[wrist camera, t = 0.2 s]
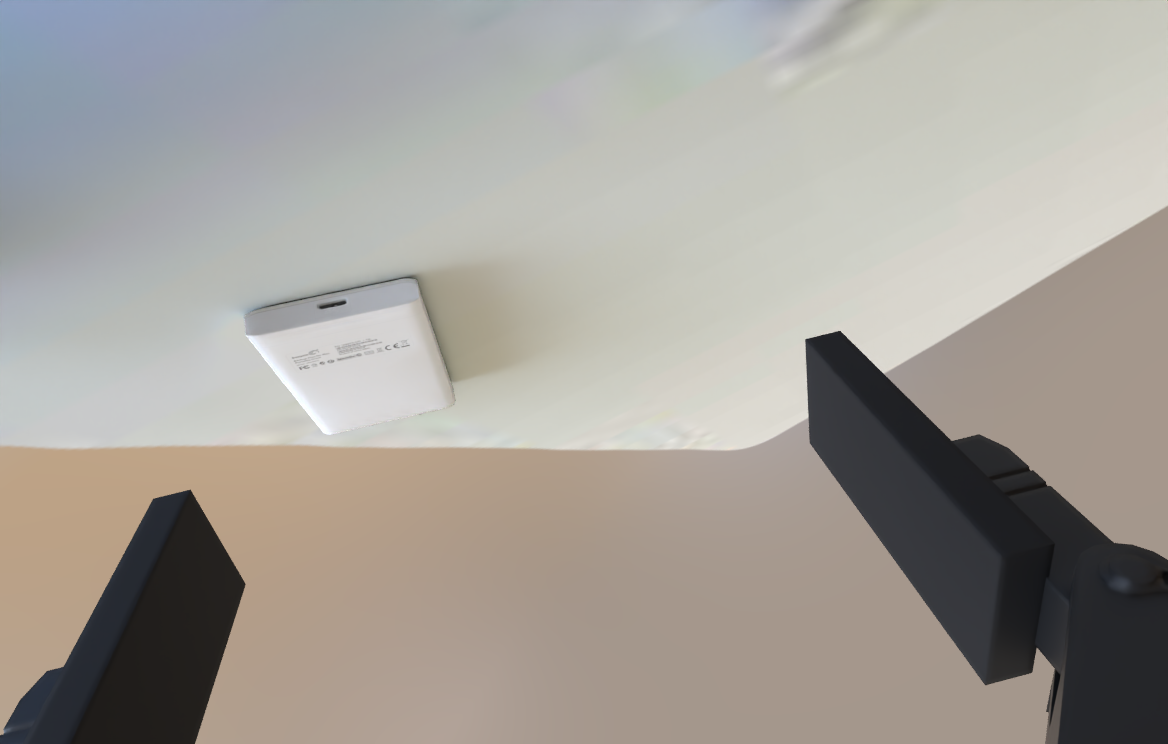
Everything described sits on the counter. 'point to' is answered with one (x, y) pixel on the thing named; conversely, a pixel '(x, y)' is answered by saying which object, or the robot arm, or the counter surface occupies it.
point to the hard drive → (355, 354)
